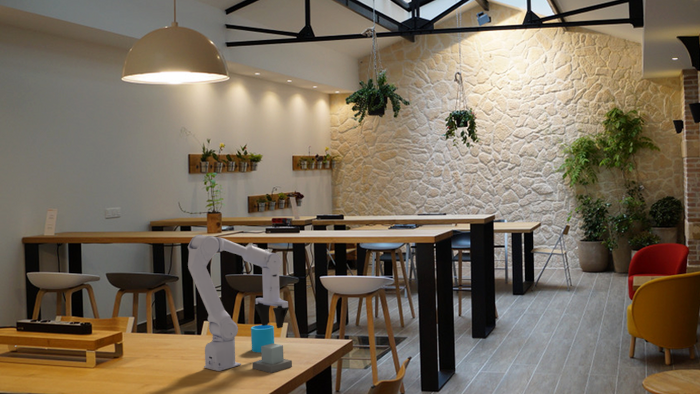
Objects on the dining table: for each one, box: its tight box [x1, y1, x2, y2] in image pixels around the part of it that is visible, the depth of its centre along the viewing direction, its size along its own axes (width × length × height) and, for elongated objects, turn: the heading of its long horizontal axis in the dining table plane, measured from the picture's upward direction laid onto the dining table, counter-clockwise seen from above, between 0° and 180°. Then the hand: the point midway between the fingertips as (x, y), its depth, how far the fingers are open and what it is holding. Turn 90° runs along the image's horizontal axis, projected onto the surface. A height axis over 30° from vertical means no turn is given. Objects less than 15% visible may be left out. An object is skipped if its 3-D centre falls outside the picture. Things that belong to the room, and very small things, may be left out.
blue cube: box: [260, 343, 285, 364], centre depth 216 cm, size 5×5×5 cm
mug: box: [250, 324, 275, 353], centre depth 243 cm, size 12×8×8 cm
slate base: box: [251, 358, 293, 374], centre depth 216 cm, size 9×9×2 cm
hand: (272, 326), depth 230 cm, fingers open, 7 cm apart
